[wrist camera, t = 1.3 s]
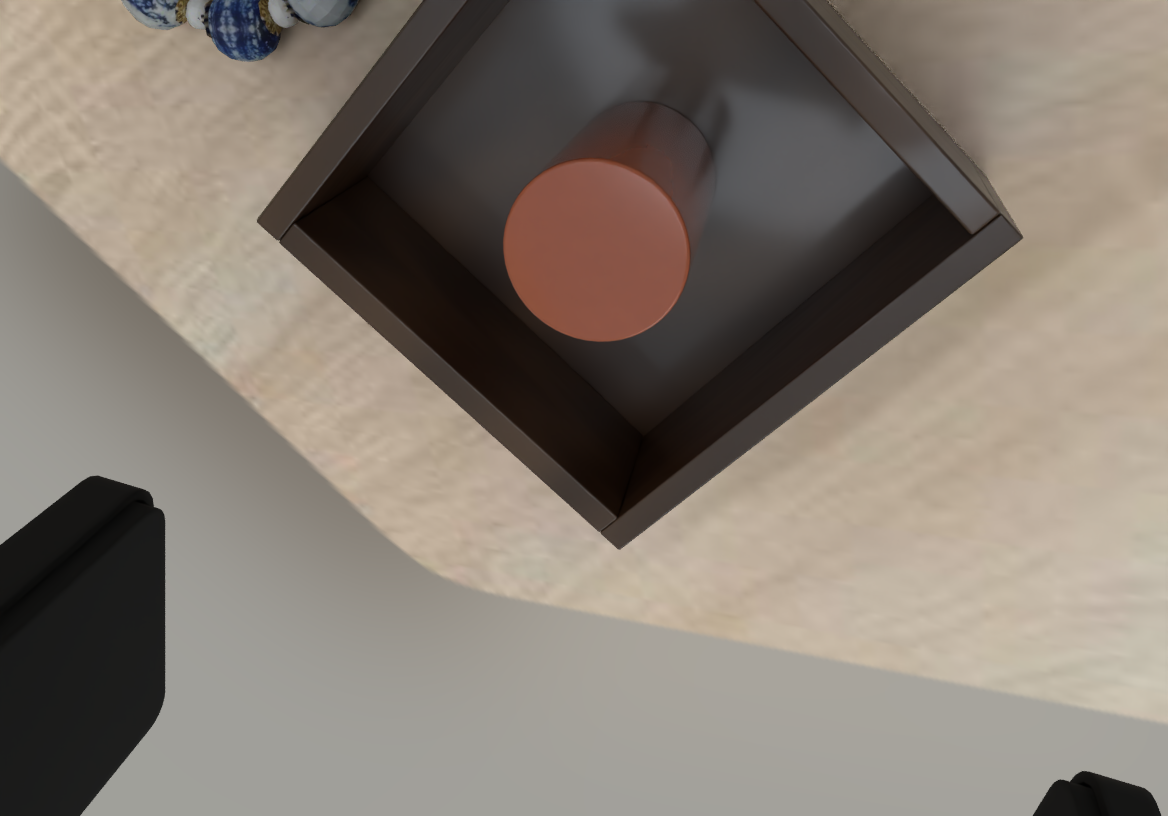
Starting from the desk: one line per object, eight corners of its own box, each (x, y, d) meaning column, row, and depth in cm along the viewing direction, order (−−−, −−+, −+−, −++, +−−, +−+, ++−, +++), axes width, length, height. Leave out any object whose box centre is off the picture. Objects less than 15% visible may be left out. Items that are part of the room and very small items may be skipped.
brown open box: (340, 171, 31) (254, 221, 27) (638, -206, 25) (597, -230, 20) (646, 457, 34) (619, 551, 29) (988, 178, 28) (1024, 238, 23)
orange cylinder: (536, 177, 30) (464, 251, 24) (638, 67, 28) (589, 115, 22) (642, 280, 30) (598, 377, 24) (748, 179, 28) (730, 258, 22)
